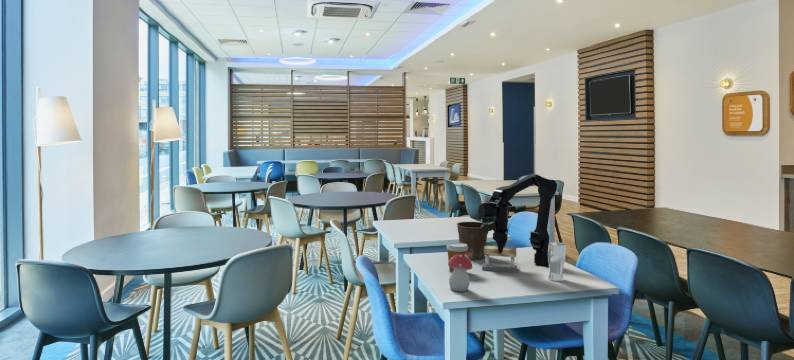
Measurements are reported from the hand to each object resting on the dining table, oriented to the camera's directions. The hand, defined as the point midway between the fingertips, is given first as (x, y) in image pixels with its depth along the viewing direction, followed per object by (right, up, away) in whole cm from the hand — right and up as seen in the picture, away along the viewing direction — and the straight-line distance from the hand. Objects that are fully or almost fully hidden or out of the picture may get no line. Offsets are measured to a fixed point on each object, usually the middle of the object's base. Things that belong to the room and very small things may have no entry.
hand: (500, 251), depth 214 cm
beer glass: (+20, -10, -14) cm, 26 cm away
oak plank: (0, -1, 0) cm, 1 cm away
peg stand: (0, -8, +1) cm, 8 cm away
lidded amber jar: (-20, -8, -4) cm, 22 cm away
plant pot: (-9, -6, +23) cm, 26 cm away
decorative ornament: (-22, -10, -29) cm, 38 cm away
